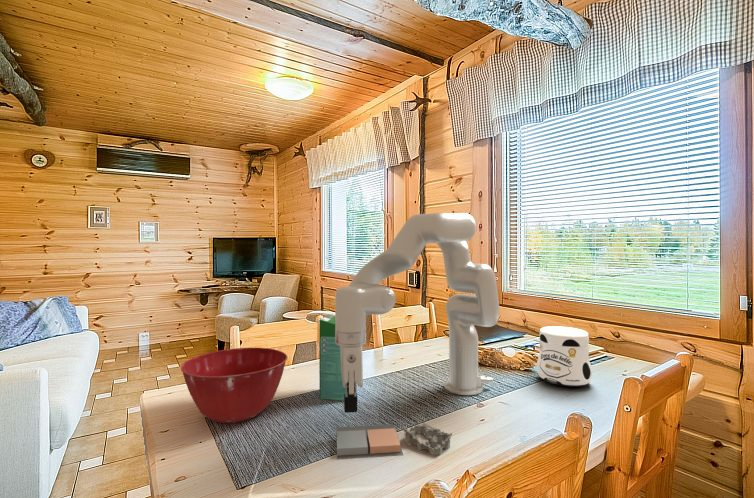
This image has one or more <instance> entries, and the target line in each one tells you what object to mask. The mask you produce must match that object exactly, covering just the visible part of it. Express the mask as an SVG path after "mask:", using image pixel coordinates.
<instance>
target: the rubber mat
mask: <svg viewBox="0 0 754 498" xmlns="http://www.w3.org/2000/svg"><path fill="white" fill-rule="evenodd" d="M391 428H395V425H394V424H393V423H391V424H388V423H387V424H373V425H352V426H336V432H337V431H355V430H365V433H366V438H367V430H373V429H391ZM367 444H368V439H367ZM396 456H404V453H403V449H402V447H401V445H400V452H390V453H375V454H370V450H369V444H368V454H358V455H342V456H337V455H336V460H347V459H348V460H350V459H351V460H352V459H364V458H365V459H367V458H380V457H381V458H382V457H396Z"/></svg>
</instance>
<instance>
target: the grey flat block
mask: <svg viewBox="0 0 754 498" xmlns="http://www.w3.org/2000/svg"><path fill="white" fill-rule="evenodd" d="M358 454H368V444H367V438H366V433H365V430H355V431H337V430H336V457H337V456H342V455H358Z"/></svg>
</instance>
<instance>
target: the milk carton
mask: <svg viewBox="0 0 754 498" xmlns="http://www.w3.org/2000/svg"><path fill="white" fill-rule="evenodd" d="M318 321H319V322H318V323H319V324H318V325H319V328H318V332H319V335H318V337H319V338H318V339H319V342H318V343H319V345H318V346H319V349H318V350H319V355H318V357H319V359H318V360H319V364H318V365H319V368H318V370H319V374H318V375H319V399H320V400H331V401H343V402H344V394H345V388H344V387H343V383H342V375H341V361H340V346H338V345H336V344H335V316H334V315H332V314H327V315H326V316H324V317H322V318H320V319H319V320H318Z"/></svg>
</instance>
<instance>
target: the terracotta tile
mask: <svg viewBox="0 0 754 498" xmlns="http://www.w3.org/2000/svg"><path fill="white" fill-rule="evenodd" d="M367 439H368V444H369V450H370V454H375V453H390V452H400V446H401V442H400V440H399V437H398V433H397V431H396V427H394V428H391V429H373V430H367Z"/></svg>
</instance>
